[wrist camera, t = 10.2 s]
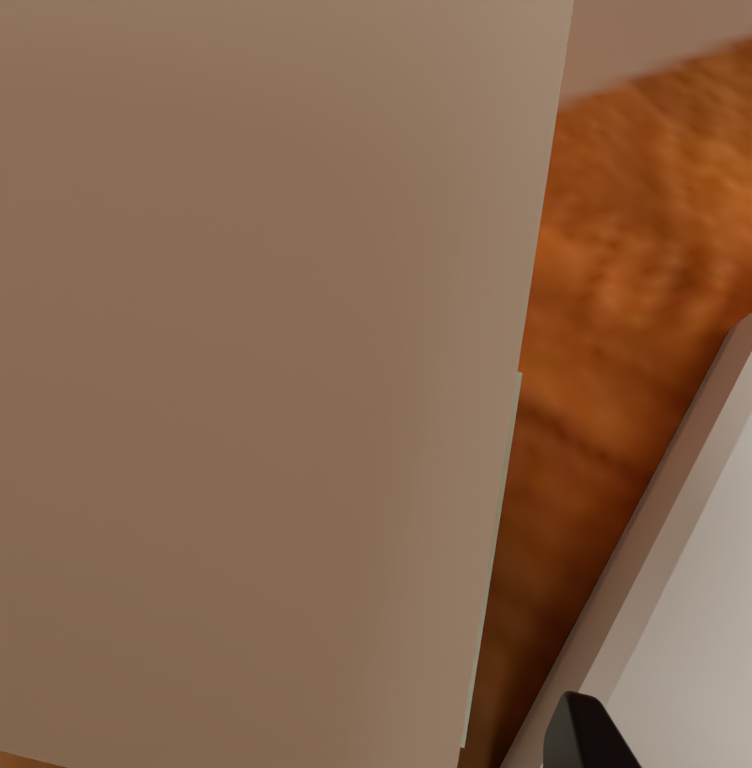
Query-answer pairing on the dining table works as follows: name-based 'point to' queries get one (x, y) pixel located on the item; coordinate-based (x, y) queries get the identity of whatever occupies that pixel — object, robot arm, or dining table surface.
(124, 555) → the carton
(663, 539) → the parts tray
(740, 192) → the dining table surface
